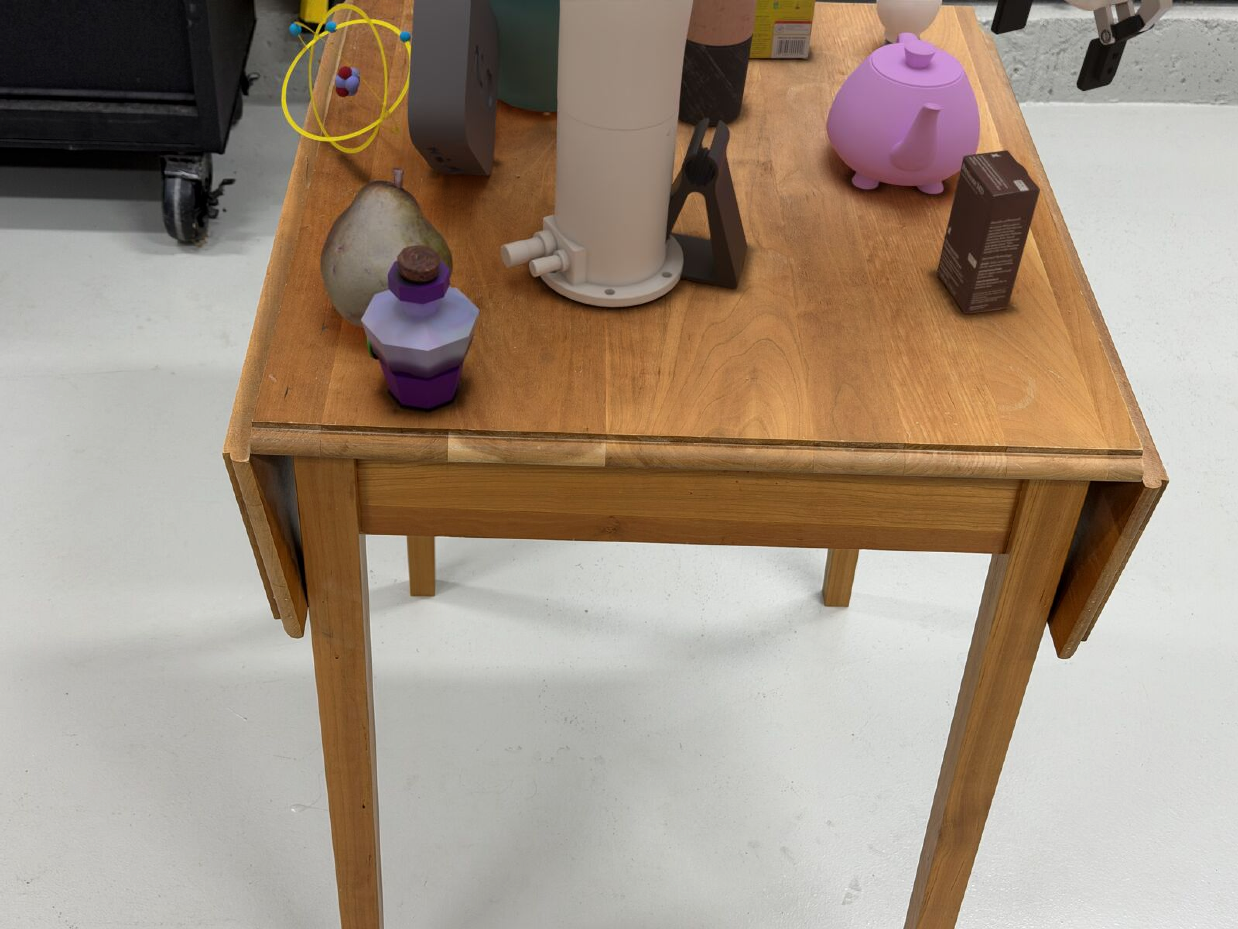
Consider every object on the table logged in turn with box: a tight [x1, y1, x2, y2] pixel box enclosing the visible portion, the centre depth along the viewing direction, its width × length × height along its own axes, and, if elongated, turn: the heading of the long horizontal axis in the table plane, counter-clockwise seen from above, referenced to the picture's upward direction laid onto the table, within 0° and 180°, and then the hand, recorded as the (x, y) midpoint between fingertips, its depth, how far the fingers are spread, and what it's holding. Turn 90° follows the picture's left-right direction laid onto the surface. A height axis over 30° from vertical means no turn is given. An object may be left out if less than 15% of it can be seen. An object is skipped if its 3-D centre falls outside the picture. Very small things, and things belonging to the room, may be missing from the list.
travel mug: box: [678, 0, 757, 127], centre depth 133 cm, size 8×8×20 cm
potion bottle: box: [361, 245, 481, 413], centre depth 103 cm, size 9×9×12 cm
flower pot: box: [488, 0, 560, 113], centre depth 136 cm, size 18×18×17 cm
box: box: [936, 149, 1041, 314], centre depth 115 cm, size 6×4×12 cm
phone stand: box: [665, 118, 748, 290], centre depth 117 cm, size 9×6×12 cm, turn 78°
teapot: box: [825, 33, 981, 195], centre depth 129 cm, size 20×14×12 cm
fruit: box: [319, 167, 454, 329], centre depth 109 cm, size 10×9×12 cm
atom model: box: [280, 3, 412, 154], centre depth 127 cm, size 14×15×14 cm
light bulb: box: [875, 0, 943, 46], centre depth 147 cm, size 7×7×11 cm
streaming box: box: [407, 0, 500, 176], centre depth 123 cm, size 14×14×5 cm
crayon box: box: [749, 0, 816, 60], centre depth 145 cm, size 7×3×12 cm, turn 94°
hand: (1049, 57), depth 108 cm, fingers open, 9 cm apart
